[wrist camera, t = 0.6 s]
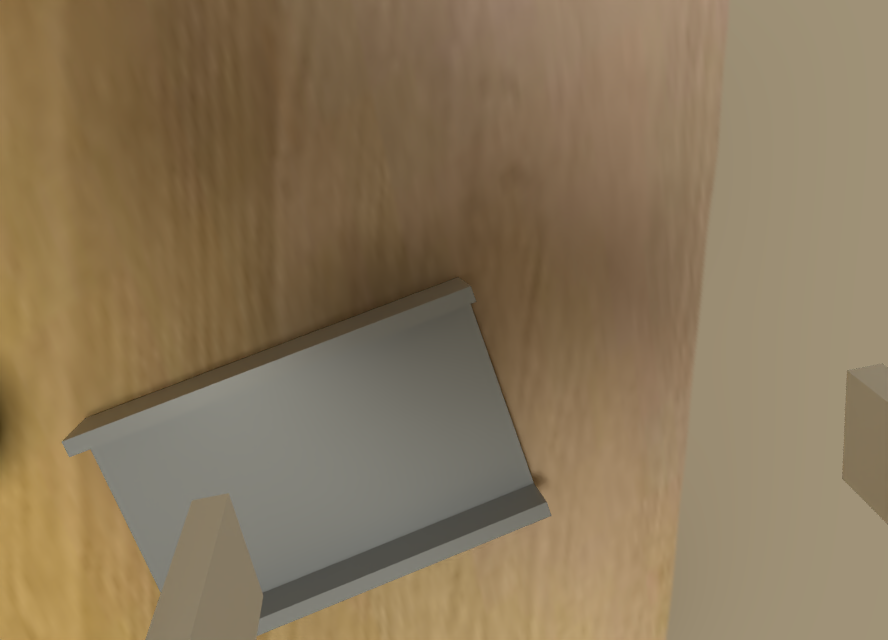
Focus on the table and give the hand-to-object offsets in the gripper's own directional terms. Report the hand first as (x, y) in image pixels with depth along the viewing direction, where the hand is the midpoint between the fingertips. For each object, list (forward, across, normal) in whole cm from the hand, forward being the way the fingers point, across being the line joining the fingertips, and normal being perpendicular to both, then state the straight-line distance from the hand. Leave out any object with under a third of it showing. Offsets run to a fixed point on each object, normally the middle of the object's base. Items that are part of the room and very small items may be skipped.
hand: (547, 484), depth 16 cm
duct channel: (+22, -9, -12) cm, 26 cm away
